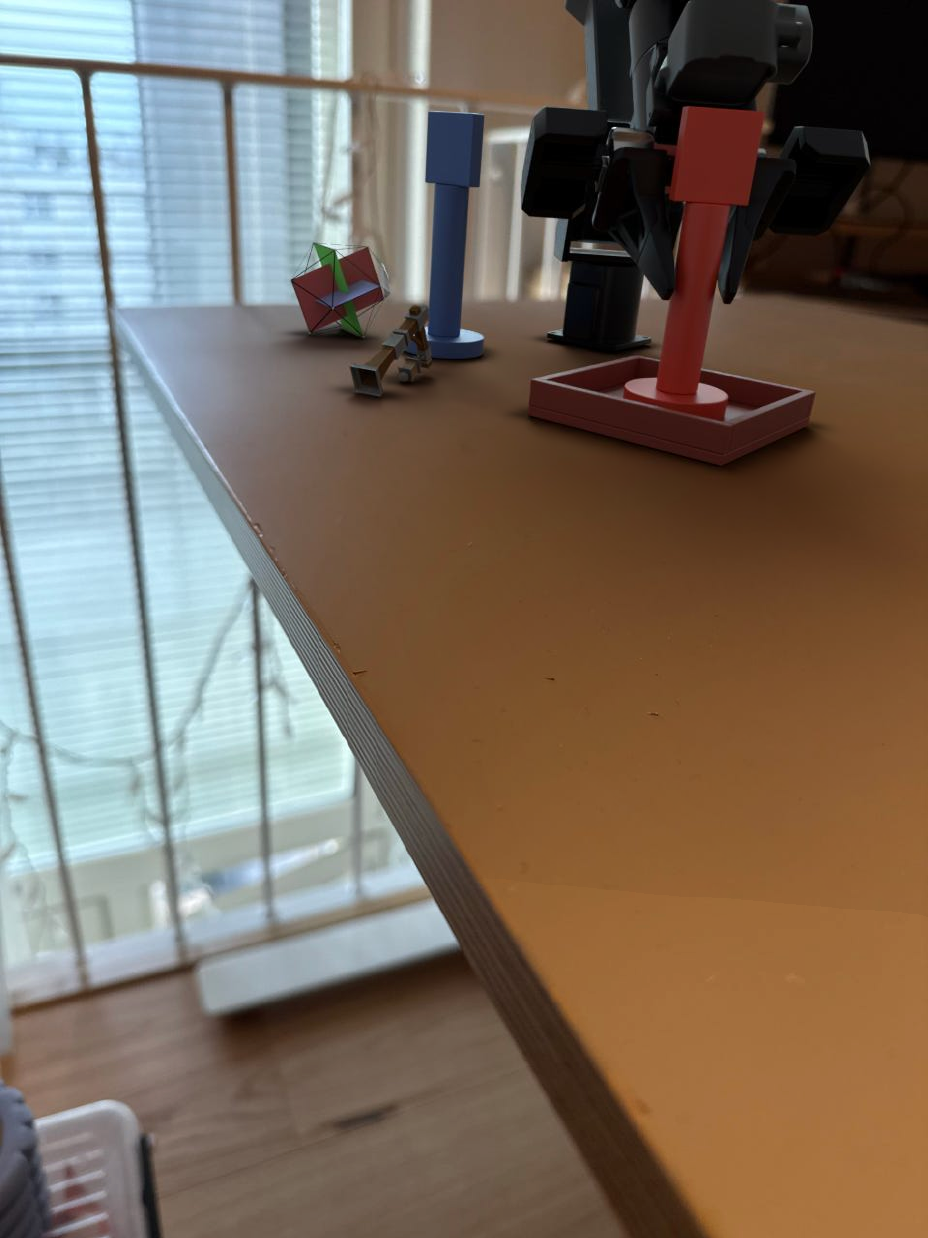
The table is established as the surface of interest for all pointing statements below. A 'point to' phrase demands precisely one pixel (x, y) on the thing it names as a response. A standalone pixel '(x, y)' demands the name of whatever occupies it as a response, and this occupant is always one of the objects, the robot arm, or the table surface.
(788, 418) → the red tray
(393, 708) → the table surface
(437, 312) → the blue pillar
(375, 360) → the jointed funnel contraption
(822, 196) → the robot arm
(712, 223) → the signpost on round base
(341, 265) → the geometric puzzle
